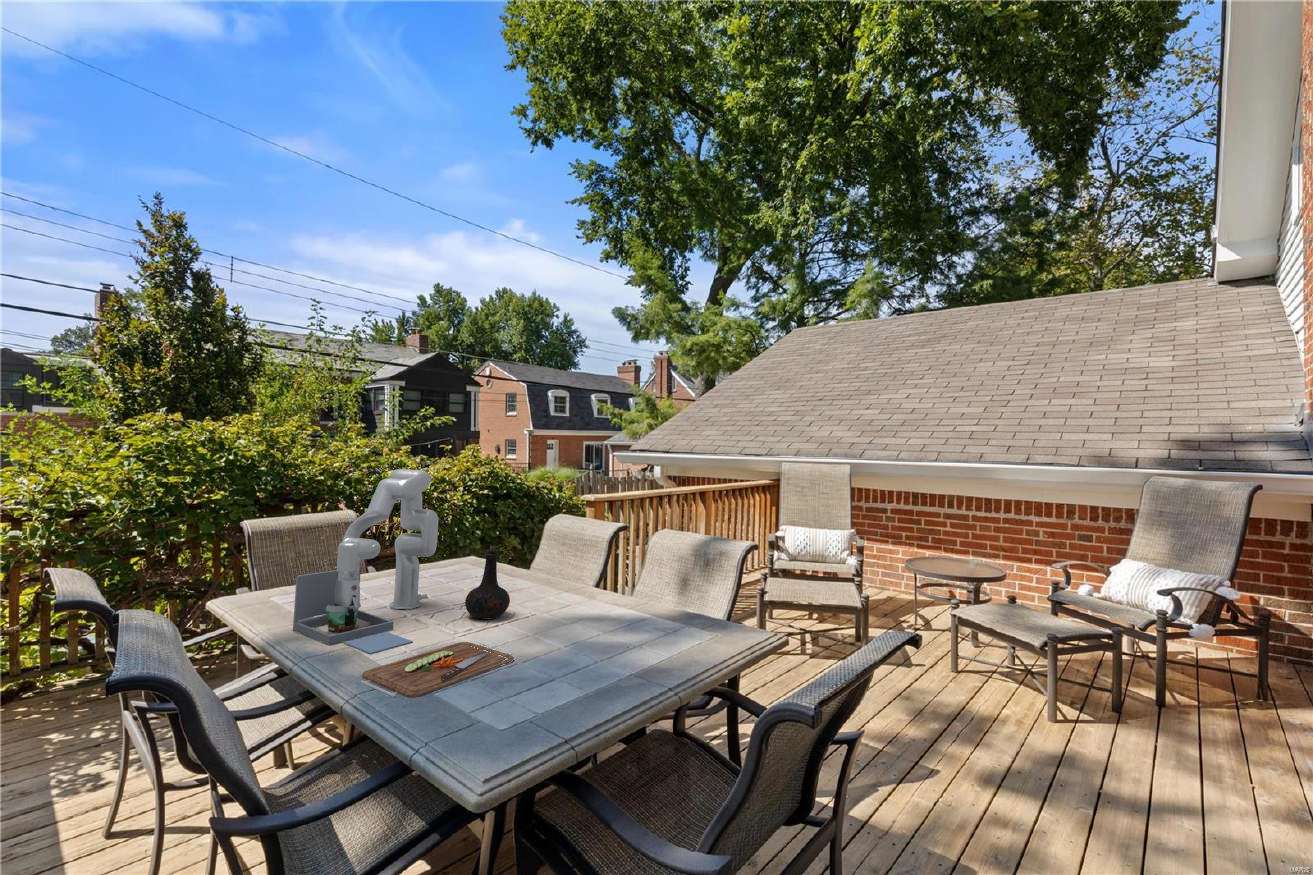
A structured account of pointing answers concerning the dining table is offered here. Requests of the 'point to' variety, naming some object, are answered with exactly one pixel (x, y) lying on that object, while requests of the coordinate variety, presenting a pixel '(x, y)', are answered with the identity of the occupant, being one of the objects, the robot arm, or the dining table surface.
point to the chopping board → (435, 669)
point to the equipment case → (311, 611)
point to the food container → (339, 619)
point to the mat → (378, 642)
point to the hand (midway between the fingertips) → (344, 623)
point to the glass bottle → (488, 592)
